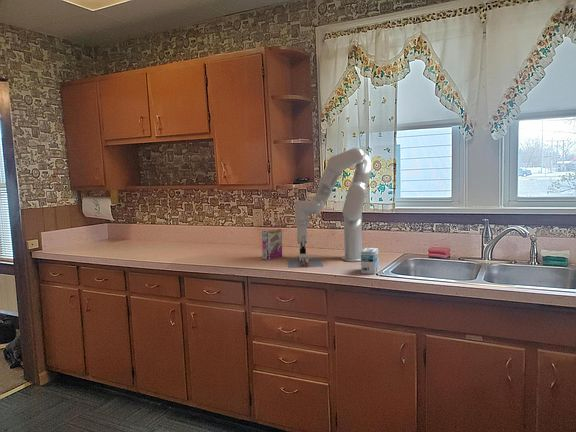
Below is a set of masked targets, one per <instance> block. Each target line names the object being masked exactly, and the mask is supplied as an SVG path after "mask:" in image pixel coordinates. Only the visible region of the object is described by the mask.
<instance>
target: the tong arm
mask: <svg viewBox="0 0 576 432" xmlns="http://www.w3.org/2000/svg"><path fill="white" fill-rule="evenodd" d="M301 260H302V265H303V267H302V268H307V267H306V265H305V260H304V257H301Z"/></svg>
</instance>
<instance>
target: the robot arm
mask: <svg viewBox="0 0 576 432" xmlns="http://www.w3.org/2000/svg"><path fill="white" fill-rule="evenodd" d="M353 166H355V167H354V168H355V169H354V173H353V178H352V181H351V184H350V185H349V187H348V189H347V192H346V193H347V194H346V197H345V200H344V203H343V207H342V208H343V209H342V216H343V223H344V224H343V227H344V228H343V234H344V235H343V236H344V237H343V238H344V256H341V259H342V261H344V262H353V263H355V262H361V251H362V250H363V207H364V203H365V199H366V198H367V197H366V196H367V192H368V186H369V182H370V178H371V173H372V167H373V166H372V161H371V158H370V156H369V155H368V154H367V153H366V152H365V151H364V150H363V149H362V148H360V147H352V148H350V149H348V150H345V151H343V152H341V153H338V154H335V155H332V156H330V157H329V158H328V160H327V164H326V167H325V169H324V171H323V173H322V175H321V177H320V178H319V181H318V188H317V190H316V192H315V195H314V196H313V199H311V200H310V201H309V200H308V201H307V200H295V202H294V216H295V217H294V221H295V222H294V223H295V225H294V226H295V227H296V241H297V244H298V245H299V254H307V251H306V250H307V248H306V245H307V244H308V226H310V217H309V215H318V214H319V213H321V212H322V211H323V210H324V208H325V206H326V204H327V202H328V200H329V198H330V195H331V193H332V191H333V190H334V188H335V186H336V185H337V181H338V180H339V178H340V176H341V173H342V172H343V171H344V170H346V169H348V168H351V167H353Z"/></svg>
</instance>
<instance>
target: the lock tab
mask: <svg viewBox="0 0 576 432" xmlns="http://www.w3.org/2000/svg"><path fill="white" fill-rule="evenodd" d="M298 257H299V260H300V261H301V257H307V260H308V261H309V258H310V255H309V254H308V253H306V254H300V253H299V255H298Z"/></svg>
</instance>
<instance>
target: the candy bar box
mask: <svg viewBox="0 0 576 432" xmlns="http://www.w3.org/2000/svg"><path fill="white" fill-rule="evenodd" d="M261 246H262V247H261V249H262V252H261V254H262V260H264V261H268V260H273V259H277V258H282V257H283V231H282V229H279V228H272V229H265V230H262V231H261Z"/></svg>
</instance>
